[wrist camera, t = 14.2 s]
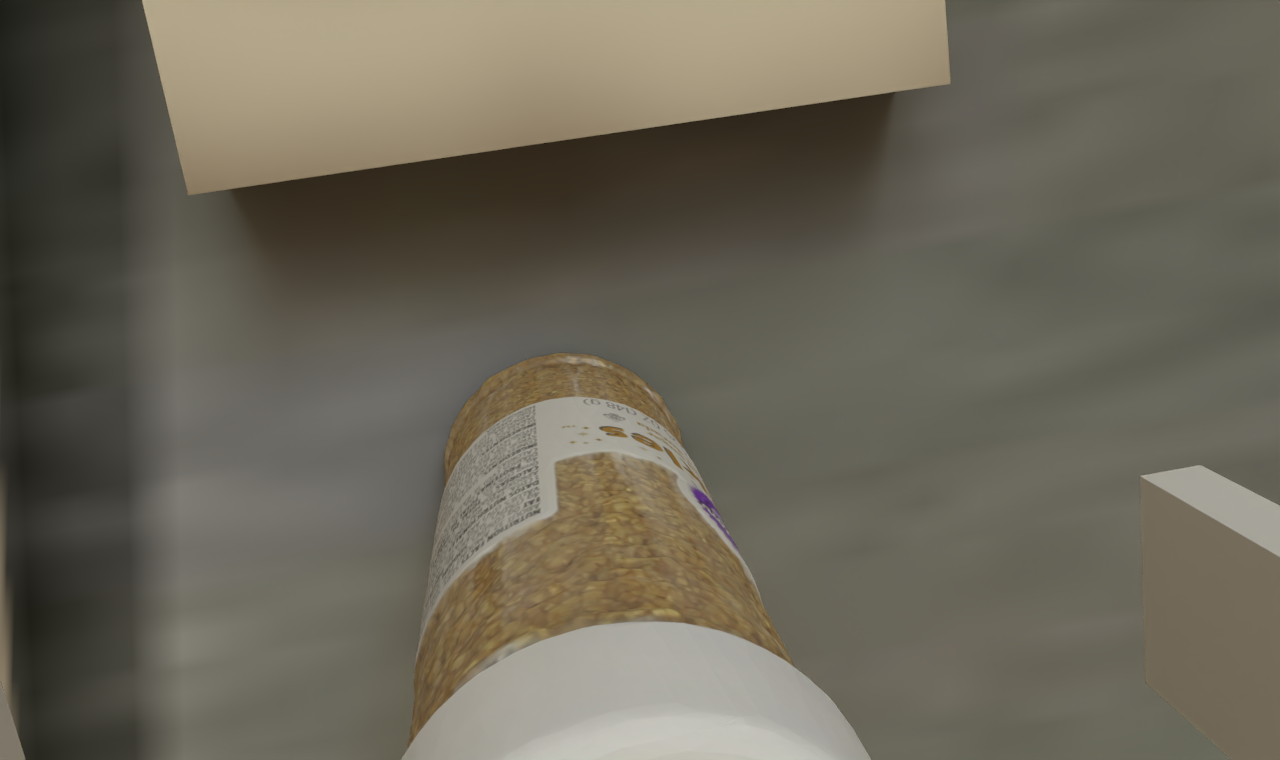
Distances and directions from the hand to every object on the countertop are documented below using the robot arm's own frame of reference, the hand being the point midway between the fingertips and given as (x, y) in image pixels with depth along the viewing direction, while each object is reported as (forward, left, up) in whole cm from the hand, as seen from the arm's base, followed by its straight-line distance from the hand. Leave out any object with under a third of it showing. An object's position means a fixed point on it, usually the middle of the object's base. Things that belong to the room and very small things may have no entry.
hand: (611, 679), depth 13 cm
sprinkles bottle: (0, 0, -9) cm, 9 cm away
